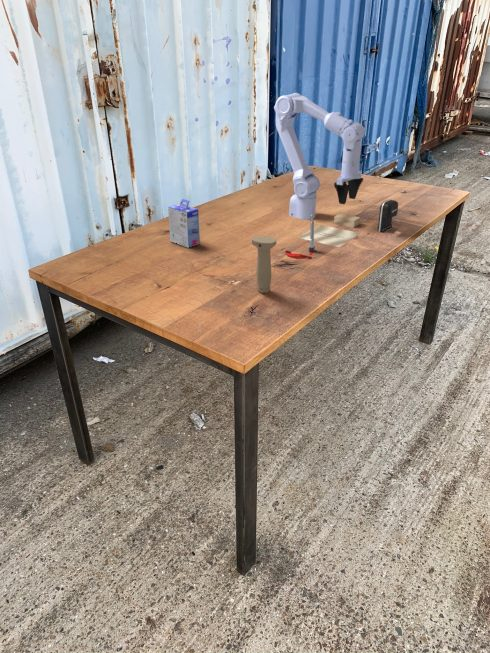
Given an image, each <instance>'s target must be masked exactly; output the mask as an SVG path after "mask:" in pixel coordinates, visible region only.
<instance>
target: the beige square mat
mask: <svg viewBox="0 0 490 653" xmlns="http://www.w3.org/2000/svg"><path fill="white" fill-rule="evenodd" d="M359 235H361V232H356V231H352V230H348V229H343V228H339V227H334V226H328V225H323V224H319V225H317V226H314V240H315V243H319V244H323V245H328V246H330V247H331V246H332V247H336V248H340V247H342V246H343V245H345V244H346V243H348V242H349V241H351V240H352V239H354V238H356V237H357V236H359ZM296 238H297V239H300V240H301V239H302V240H305V241H309V242H310V229H309V230H308V231H306V232H304V233H302V234H300V235H299V236H297V237H296Z"/></svg>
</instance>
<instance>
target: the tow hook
mask: <svg viewBox="0 0 490 653" xmlns="http://www.w3.org/2000/svg"><path fill="white" fill-rule="evenodd" d="M309 226H310V228H309V230H310V241H309V248H308V252H309V254H308V255H309V256H308V255H305V254H301V253H299V254H297V253H292V251H289V250H285V255H286V256H287V257H289V258H293V259H302V258H303V259H304V258H308V259H312V258H313V257H312V256H313V253H315V251H316V244H315V243H316V242H315V240H314V228H315V222H314V218H313V215H311V219H310V223H309Z"/></svg>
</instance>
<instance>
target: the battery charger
mask: <svg viewBox="0 0 490 653" xmlns="http://www.w3.org/2000/svg"><path fill="white" fill-rule="evenodd" d="M398 210H399V202H398V201H397V200H394V199H387V200H384V201H383V202H382V203H381V204H380V207H379V213H378V221H377V222H378V223H377V224H378V226H377V232H379V233H382V234H384V233H386V232H388V231H390V230H391V229H393V226H392V224H393V222H392V221H393V218H394V217H395V216H398Z"/></svg>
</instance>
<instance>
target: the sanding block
mask: <svg viewBox="0 0 490 653" xmlns="http://www.w3.org/2000/svg"><path fill="white" fill-rule="evenodd" d="M360 220H361V217H359V216H354V215H350V214H345V213H338V214H337V215H335V216H334V217H333V224H334V225H337V226H338V225H339V226H344V227H348V228H352V229H353V228H356V227H358V226H359V225H360Z"/></svg>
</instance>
